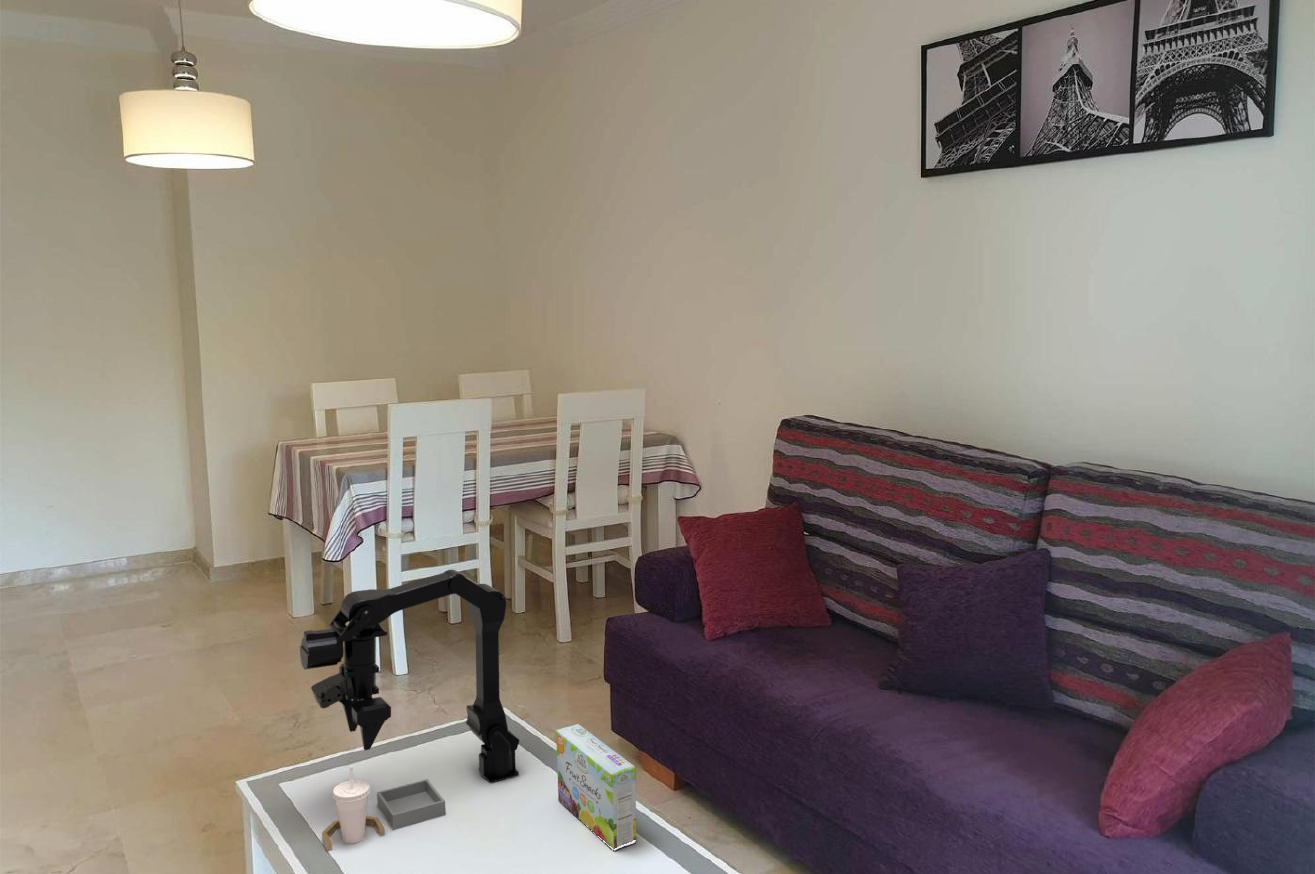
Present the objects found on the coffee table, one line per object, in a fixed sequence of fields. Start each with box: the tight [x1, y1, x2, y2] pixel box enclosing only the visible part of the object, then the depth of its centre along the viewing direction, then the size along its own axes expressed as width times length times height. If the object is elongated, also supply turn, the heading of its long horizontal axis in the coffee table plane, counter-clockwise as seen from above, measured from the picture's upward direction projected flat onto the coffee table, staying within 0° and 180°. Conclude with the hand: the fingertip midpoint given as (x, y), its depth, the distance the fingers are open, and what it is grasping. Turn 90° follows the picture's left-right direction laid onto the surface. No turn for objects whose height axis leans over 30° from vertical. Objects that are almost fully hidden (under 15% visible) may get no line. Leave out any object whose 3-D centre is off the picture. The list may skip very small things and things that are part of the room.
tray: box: [376, 778, 447, 830], centre depth 192 cm, size 10×10×3 cm
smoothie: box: [332, 765, 371, 844], centre depth 181 cm, size 6×6×14 cm
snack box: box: [555, 723, 637, 849], centre depth 187 cm, size 21×6×15 cm, turn 34°
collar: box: [321, 815, 386, 852], centre depth 184 cm, size 10×7×2 cm
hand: (359, 740), depth 190 cm, fingers open, 9 cm apart
